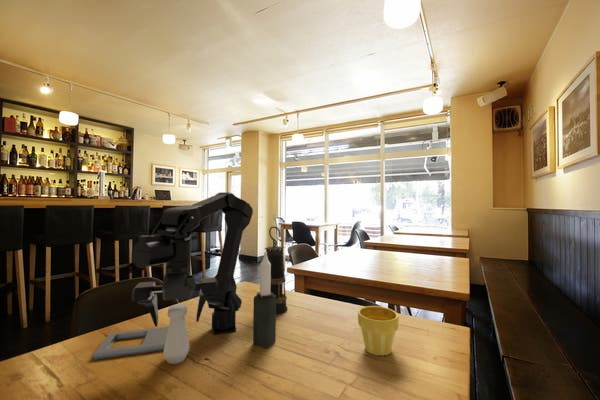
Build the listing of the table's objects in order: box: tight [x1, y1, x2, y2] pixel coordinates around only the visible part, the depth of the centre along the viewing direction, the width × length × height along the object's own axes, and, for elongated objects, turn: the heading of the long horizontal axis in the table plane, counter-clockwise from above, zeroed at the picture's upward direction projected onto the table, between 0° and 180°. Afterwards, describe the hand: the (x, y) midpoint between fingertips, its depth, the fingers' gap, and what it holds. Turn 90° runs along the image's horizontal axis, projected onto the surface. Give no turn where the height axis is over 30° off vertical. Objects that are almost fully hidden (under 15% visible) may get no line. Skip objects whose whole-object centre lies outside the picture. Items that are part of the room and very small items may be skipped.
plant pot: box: [357, 305, 399, 357], centre depth 74 cm, size 10×10×10 cm
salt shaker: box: [163, 303, 191, 365], centre depth 69 cm, size 6×6×13 cm
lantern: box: [264, 226, 288, 316], centre depth 101 cm, size 9×9×30 cm
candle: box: [252, 251, 277, 349], centre depth 77 cm, size 5×5×25 cm
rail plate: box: [93, 325, 169, 361], centre depth 76 cm, size 20×11×2 cm, turn 108°
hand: (177, 323), depth 69 cm, fingers open, 9 cm apart
